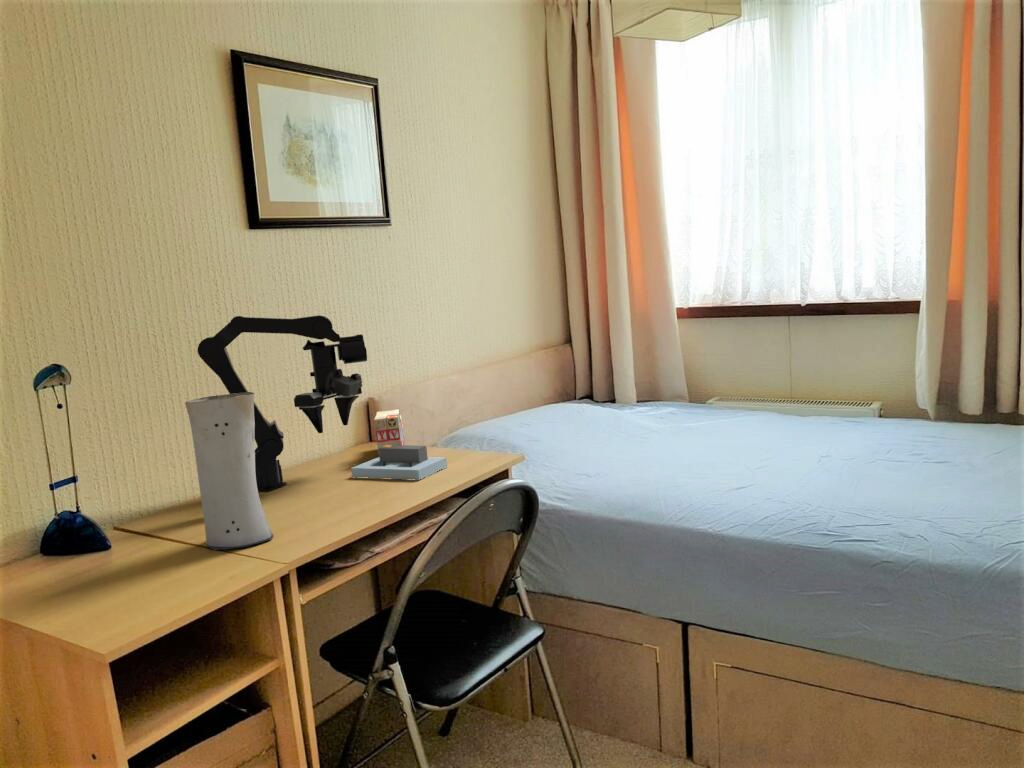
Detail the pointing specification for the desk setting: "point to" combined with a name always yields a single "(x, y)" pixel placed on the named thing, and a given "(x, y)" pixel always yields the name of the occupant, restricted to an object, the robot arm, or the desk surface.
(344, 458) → the desk surface
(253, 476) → the vase
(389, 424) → the stack of blocks
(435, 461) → the keyhole board
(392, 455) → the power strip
